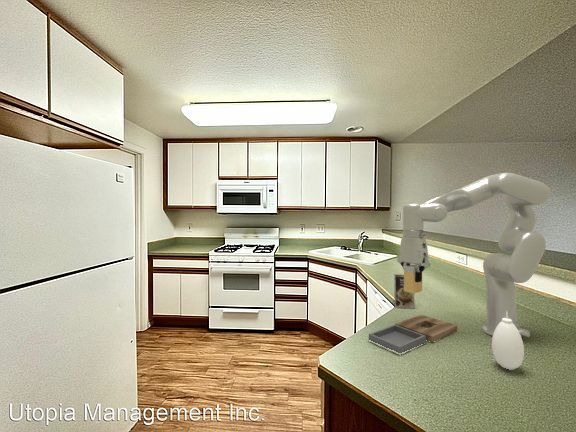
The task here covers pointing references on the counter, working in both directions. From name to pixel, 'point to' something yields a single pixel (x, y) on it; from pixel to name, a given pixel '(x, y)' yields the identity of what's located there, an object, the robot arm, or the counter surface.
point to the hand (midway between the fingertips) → (413, 280)
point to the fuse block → (411, 280)
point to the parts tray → (397, 338)
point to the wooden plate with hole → (429, 327)
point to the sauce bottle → (507, 344)
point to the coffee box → (402, 294)
